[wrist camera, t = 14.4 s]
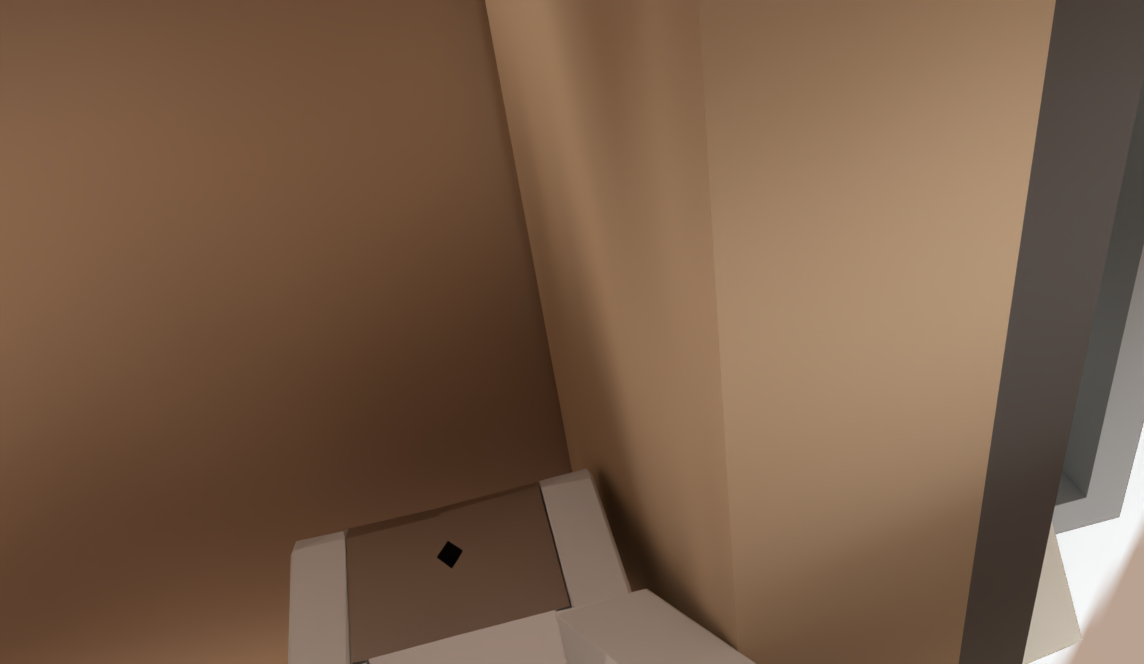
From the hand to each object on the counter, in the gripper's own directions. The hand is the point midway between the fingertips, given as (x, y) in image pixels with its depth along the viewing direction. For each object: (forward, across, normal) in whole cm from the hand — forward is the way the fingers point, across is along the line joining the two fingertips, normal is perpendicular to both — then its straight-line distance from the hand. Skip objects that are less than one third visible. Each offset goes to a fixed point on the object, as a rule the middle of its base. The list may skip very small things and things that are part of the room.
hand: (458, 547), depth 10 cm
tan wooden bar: (+1, -3, 0) cm, 3 cm away
